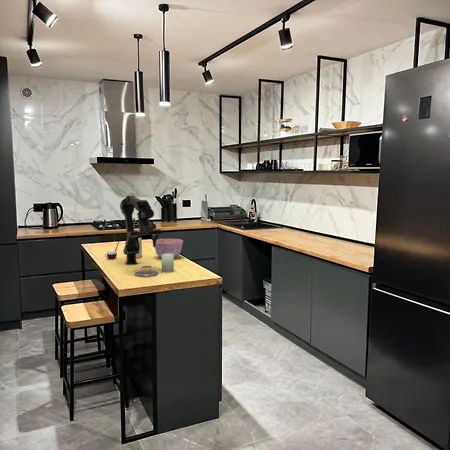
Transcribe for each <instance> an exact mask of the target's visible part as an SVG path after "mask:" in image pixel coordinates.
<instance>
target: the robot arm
mask: <svg viewBox="0 0 450 450" xmlns="http://www.w3.org/2000/svg"><path fill="white" fill-rule="evenodd" d="M119 208H120V211H121V213H122V215H123V216H124V222H125V230H126V238H127V239H126V241H125V243H124V247H123V251H122V252H123V254H124V255H125V256H126V261H125V264H126V265H137V264H138V262H137V258H136V254H139V249H140V246H139V240H138V238H140V237H139V236H147V235H152V236H151V239H152V240H151V241H152V247H153V248H155V244H156V240H158V237H159V236H161V235H162V234H163V231H162V229H157V223H150V221H149V220H150V219H153V218H154V216H155V211H154V210H153V209H152V206H151V205H150V203H149V202H148V200H147V199H140V198H139V197H136V196H135V195H126V197H125V198H124V199H122V200H121V201H120V204H119ZM135 210H136V211H137V214H136V215H137V218H138V219H137V220H138V224H137V226H138V229H139V231H137V230H135V228H134V219H133V214H134V211H135Z"/></svg>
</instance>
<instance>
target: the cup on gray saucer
mask: <svg viewBox="0 0 450 450" xmlns="http://www.w3.org/2000/svg"><path fill="white" fill-rule="evenodd" d="M158 275H159V271H156V270H153V266H152V265H142V266H141V267H140V270H139V271H136V272H134V276H135V277H139V278H151V277H156V276H158Z"/></svg>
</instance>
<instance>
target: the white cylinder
mask: <svg viewBox="0 0 450 450" xmlns="http://www.w3.org/2000/svg"><path fill="white" fill-rule="evenodd" d="M160 258H161V272H162V273H173V272H174V271H175V264H174V263H175V260H174V259H175V258H174V254H172V253H164V254H161V257H160Z"/></svg>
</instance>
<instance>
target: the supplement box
mask: <svg viewBox="0 0 450 450" xmlns="http://www.w3.org/2000/svg"><path fill="white" fill-rule="evenodd" d="M138 240H139V246H140V249H139V254H136V259H141V258H143V242H142V241H143V240H142V237H138Z"/></svg>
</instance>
